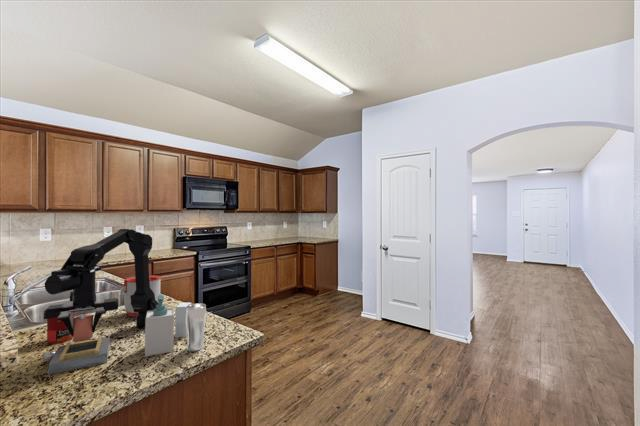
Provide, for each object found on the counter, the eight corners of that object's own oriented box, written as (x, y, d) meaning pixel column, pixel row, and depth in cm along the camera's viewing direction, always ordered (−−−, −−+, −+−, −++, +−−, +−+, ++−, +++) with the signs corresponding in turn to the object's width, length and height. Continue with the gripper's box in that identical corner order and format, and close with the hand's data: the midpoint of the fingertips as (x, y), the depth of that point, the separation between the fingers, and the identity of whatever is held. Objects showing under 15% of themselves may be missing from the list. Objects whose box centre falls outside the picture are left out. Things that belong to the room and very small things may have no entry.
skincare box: (180, 331, 120) (181, 302, 120) (191, 331, 120) (191, 302, 120) (174, 337, 114) (175, 306, 114) (185, 337, 114) (186, 306, 114)
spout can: (93, 334, 100) (94, 309, 100) (91, 339, 95) (92, 313, 95) (74, 337, 97) (75, 311, 97) (71, 343, 93) (72, 315, 93)
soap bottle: (144, 357, 98) (145, 300, 98) (146, 346, 105) (147, 293, 106) (173, 352, 102) (174, 297, 102) (172, 342, 109) (174, 291, 110)
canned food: (58, 345, 106) (58, 314, 106) (40, 342, 107) (41, 312, 108) (79, 336, 113) (80, 308, 113) (62, 334, 115) (63, 306, 115)
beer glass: (209, 345, 107) (210, 304, 108) (196, 353, 101) (196, 309, 101) (194, 342, 110) (195, 302, 110) (180, 350, 103) (181, 307, 103)
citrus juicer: (115, 313, 140) (116, 271, 141) (155, 306, 152) (156, 268, 152) (121, 322, 129) (122, 277, 129) (164, 314, 141) (165, 272, 141)
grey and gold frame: (109, 346, 106) (110, 334, 106) (107, 362, 94) (107, 349, 94) (46, 357, 96) (46, 345, 96) (34, 377, 85) (35, 363, 85)
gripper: (119, 279, 108) (118, 321, 108) (52, 284, 98) (51, 331, 98) (118, 285, 99) (117, 331, 99) (43, 292, 89) (42, 343, 88)
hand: (83, 333), depth 96 cm, fingers closed on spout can, 5 cm apart
